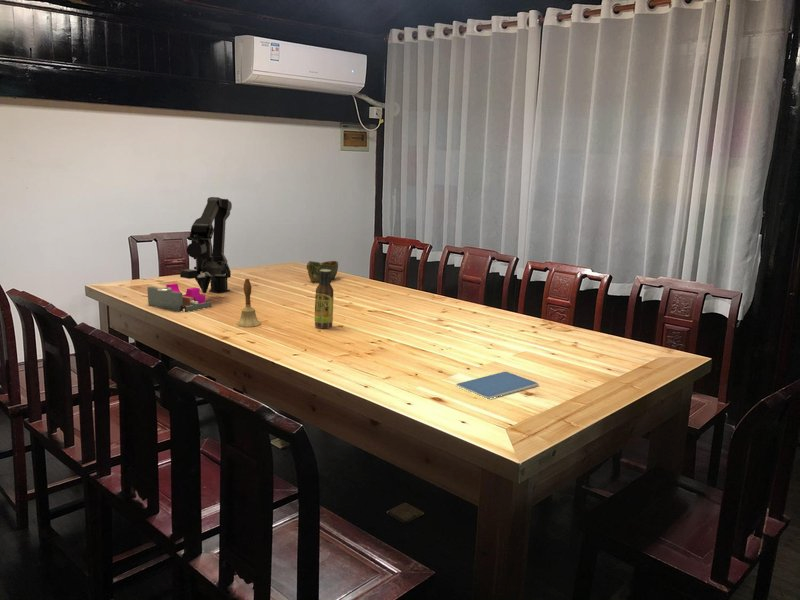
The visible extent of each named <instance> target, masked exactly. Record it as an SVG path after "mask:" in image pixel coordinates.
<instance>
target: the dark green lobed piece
mask: <svg viewBox="0 0 800 600" xmlns="http://www.w3.org/2000/svg"><path fill="white" fill-rule="evenodd" d="M322 269H327V270H331V279H330V281H331V282H332V281H334V280H335V278H336V276H337V274H338V271H339V270H338V269H339V261H337V260H329V261H323V262H318V261H311V260H310V261H308V262H307V264H306V270H307V273H308V274H307V275H308V277H309V279H310V281H311V282H312V283H316V284H319V281H320V275H319V270H322Z"/></svg>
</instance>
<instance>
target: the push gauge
mask: <svg viewBox="0 0 800 600" xmlns="http://www.w3.org/2000/svg"><path fill="white" fill-rule="evenodd" d="M171 290H172V288H168V287H166V286H165V287H164V286H163V287H156V286H147V305H148V306H151V307H155V308H159V309H162V308H163V310H168V311H170V312H171V311H172V312H176V313H182V312H181V311H183V312H185V313H189V312H188V311H190V312H194V311H193V310H195V311H199V310H198V309H200V310H203V308H205V309H208V307H209V308H212V301H209V300H208V301H205V302H204V303H198V304H192V305H189V306H185V307H183V297H182V295H183V292H181V291H180V292H176V291H171Z"/></svg>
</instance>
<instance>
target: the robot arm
mask: <svg viewBox="0 0 800 600" xmlns="http://www.w3.org/2000/svg"><path fill="white" fill-rule="evenodd" d="M232 207H233V206H232V202H231V200H229V199H228V198H220V197H215V196H210V197H208V198H207V202H206V204H205V207H204V209H203V211H202V214H201V216H200V217H199V218H196V219H195V220H194V222H193V223H192V225H191V229H190V232H189V238H188V240H189V241H191V243H188V245H187V247H186V253H187V255H188V256H189V257H190V258H193V260H195V266H194V267H193V269H190V268H187V269H181V270H180V273H179V277H180V278H181V279H182V278H184V279H187V280H188V279H189V280H190V279H191V280H192V279H195V281H196V282H197V284H198V286H199V288H200V290H201V291H202V293H203V294H207V293H208V292H211V293H212V292H213V293H216V292H217V294H220V293H225V292H230V291H231V289H230V288H228V284H229V283H228V279H229V278H231V276H232V275H231V274H232V273H231V269H230V267H229V264H228V260H227V258H226V255H225V241H226V239H225V237H226V221H227V220H228V218H229V217H230V215H231V210H232ZM212 239H213V240H212ZM211 242H212V244H211ZM211 245H212V247H211ZM211 248H212V250H211ZM211 252H212V253H211ZM209 286H210V289H209Z"/></svg>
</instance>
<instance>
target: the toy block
mask: <svg viewBox="0 0 800 600" xmlns="http://www.w3.org/2000/svg"><path fill="white" fill-rule="evenodd" d="M165 285H166V286H165V287H168V288H172V290H171V291H176V292H181V290H180V288H179V284H178V283H175V282H174V283H173V282H172V283H167V284H165ZM200 290H201V288H200V287H190V288H186V291H185V294H182V295H183V296H187V297H192V298H193V301H194V297H196V301H198V303H204V302H206V295H205V294H204V293H203V294H201V291H200ZM183 308H185V306H184V307H183Z"/></svg>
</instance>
